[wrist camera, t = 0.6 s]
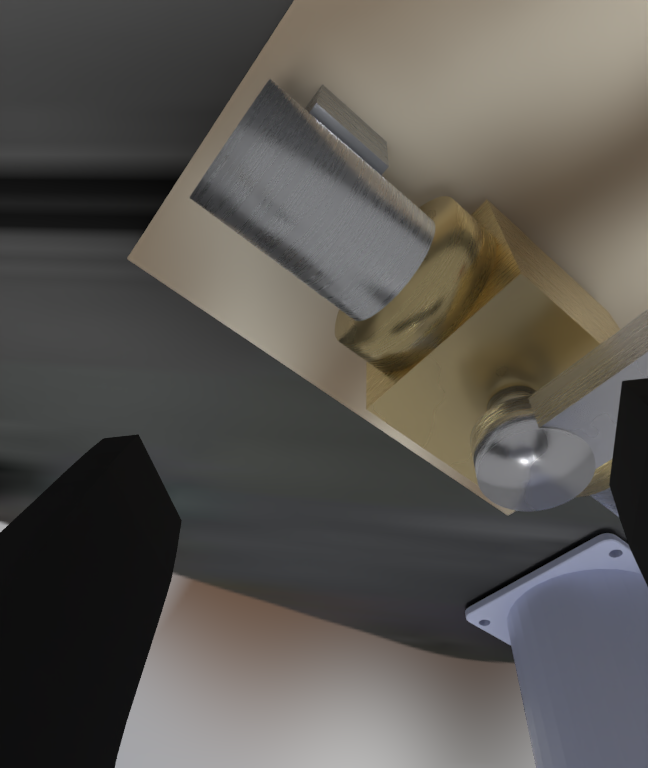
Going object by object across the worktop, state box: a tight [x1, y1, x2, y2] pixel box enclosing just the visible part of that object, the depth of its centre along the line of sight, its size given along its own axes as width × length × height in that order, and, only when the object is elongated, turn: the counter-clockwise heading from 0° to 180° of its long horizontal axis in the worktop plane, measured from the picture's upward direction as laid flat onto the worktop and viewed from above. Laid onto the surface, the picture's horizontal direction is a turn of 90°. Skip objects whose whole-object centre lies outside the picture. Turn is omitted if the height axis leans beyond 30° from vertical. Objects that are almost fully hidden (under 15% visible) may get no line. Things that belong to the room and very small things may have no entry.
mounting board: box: [127, 0, 648, 515], centre depth 17 cm, size 16×13×1 cm
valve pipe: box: [189, 79, 620, 517], centre depth 14 cm, size 15×4×5 cm, turn 51°
